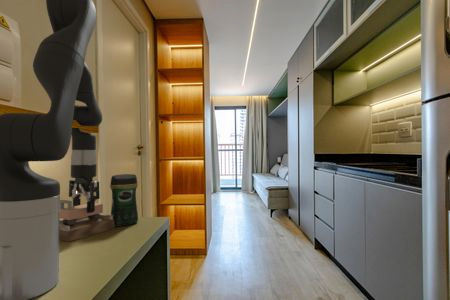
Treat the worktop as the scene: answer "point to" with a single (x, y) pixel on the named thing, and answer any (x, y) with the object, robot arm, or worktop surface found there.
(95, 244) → the worktop surface
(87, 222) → the dock
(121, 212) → the coffee jar
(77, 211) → the tan board with wheels
